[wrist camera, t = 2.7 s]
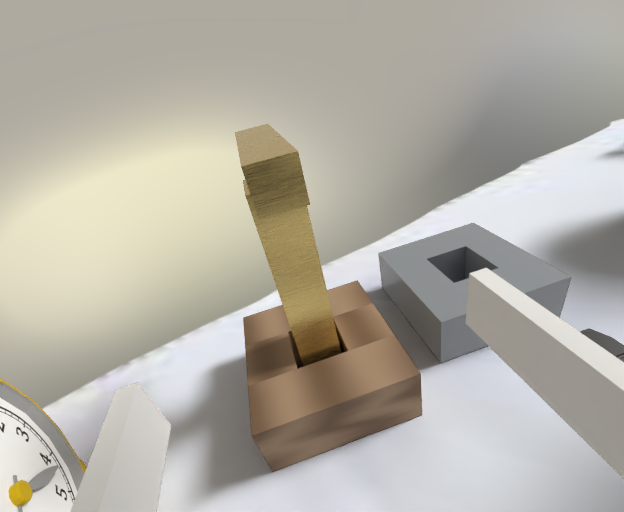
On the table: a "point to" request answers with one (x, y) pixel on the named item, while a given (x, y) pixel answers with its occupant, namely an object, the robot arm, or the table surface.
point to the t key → (288, 238)
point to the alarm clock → (34, 458)
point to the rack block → (461, 283)
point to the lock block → (326, 381)
